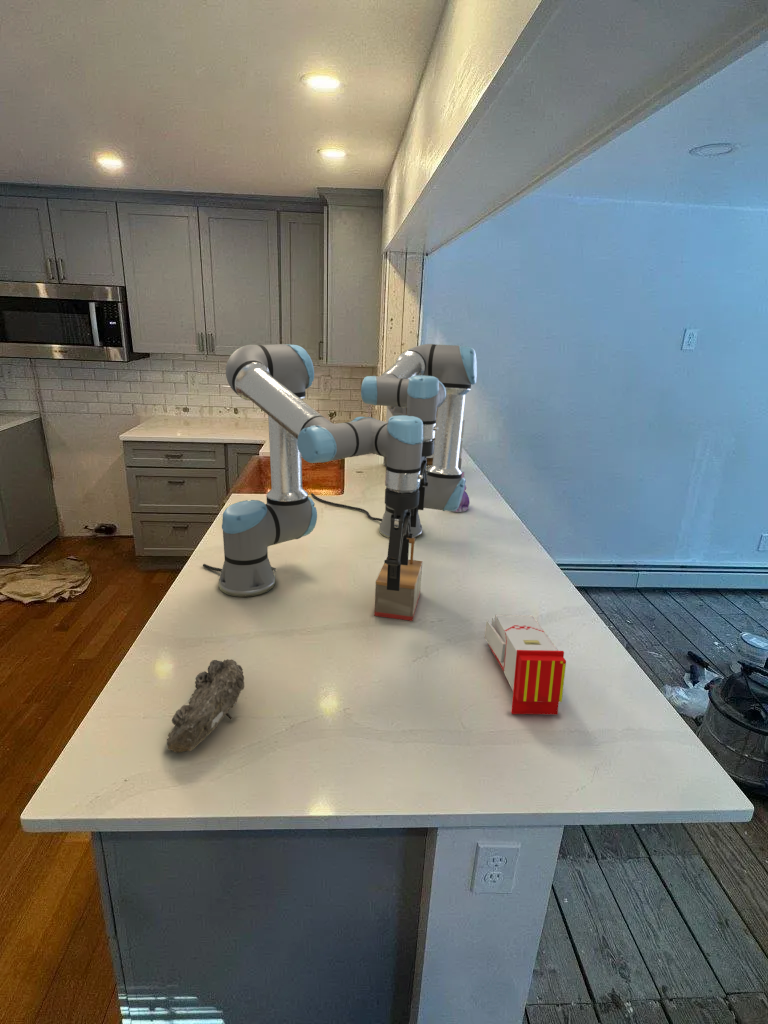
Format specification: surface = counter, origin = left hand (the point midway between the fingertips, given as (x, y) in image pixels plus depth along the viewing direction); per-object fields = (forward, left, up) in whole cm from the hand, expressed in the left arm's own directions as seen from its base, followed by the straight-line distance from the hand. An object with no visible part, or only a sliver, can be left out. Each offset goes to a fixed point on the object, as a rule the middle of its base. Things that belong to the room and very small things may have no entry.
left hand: (397, 576), depth 130 cm
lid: (-2, +17, -8) cm, 19 cm away
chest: (-2, +17, -17) cm, 24 cm away
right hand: (0, +24, +6) cm, 24 cm away
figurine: (+9, +100, -17) cm, 102 cm away
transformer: (-13, +148, -17) cm, 149 cm away
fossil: (-29, -35, -17) cm, 49 cm away
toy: (+29, -7, -17) cm, 34 cm away
